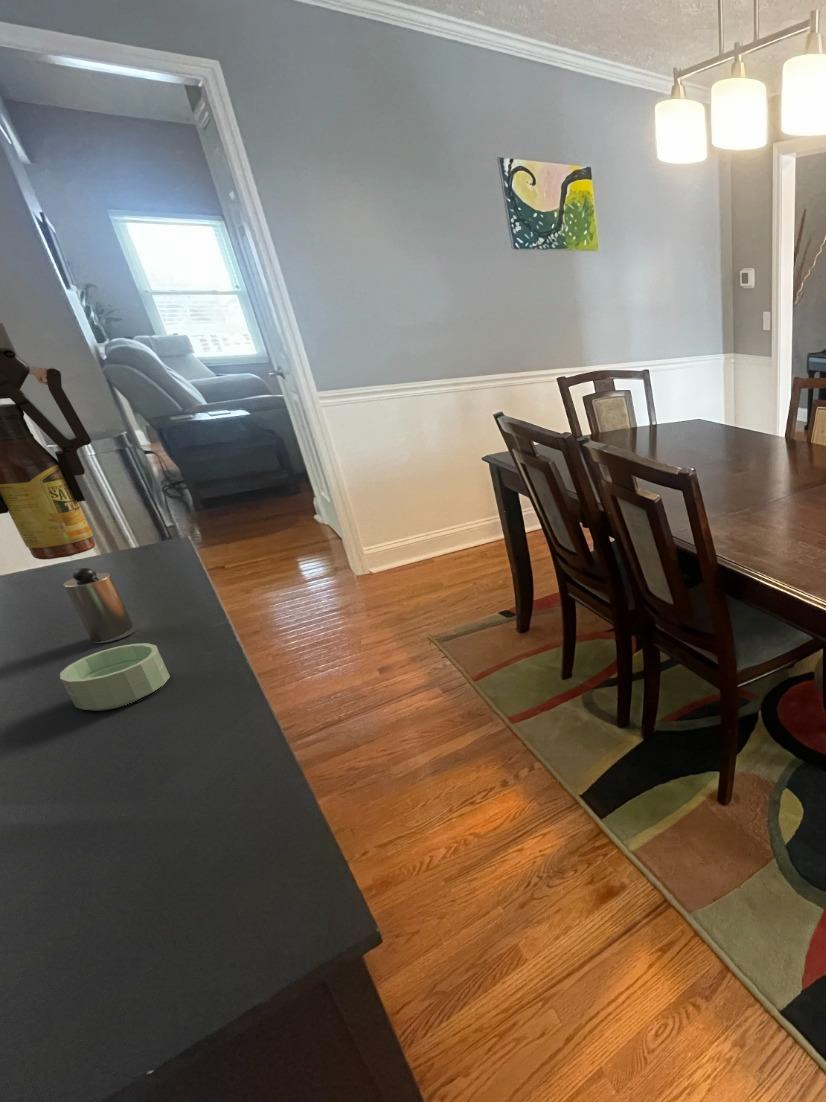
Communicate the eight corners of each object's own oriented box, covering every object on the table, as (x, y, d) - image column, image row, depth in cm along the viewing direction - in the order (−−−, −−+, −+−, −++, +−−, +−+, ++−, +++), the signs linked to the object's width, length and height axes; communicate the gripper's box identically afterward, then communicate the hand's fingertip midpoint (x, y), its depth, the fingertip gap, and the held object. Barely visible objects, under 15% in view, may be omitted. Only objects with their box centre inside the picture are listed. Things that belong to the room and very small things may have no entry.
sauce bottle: (92, 555, 81) (21, 406, 73) (25, 565, 78) (-57, 411, 70) (104, 540, 86) (39, 400, 78) (42, 550, 83) (-33, 404, 75)
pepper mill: (82, 644, 93) (47, 575, 88) (112, 628, 97) (80, 562, 93) (116, 643, 93) (82, 575, 88) (144, 627, 97) (114, 561, 93)
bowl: (56, 714, 77) (37, 682, 75) (122, 674, 85) (107, 644, 83) (130, 712, 77) (113, 680, 75) (188, 672, 85) (175, 642, 83)
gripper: (-200, 319, 61) (-77, 529, 70) (70, 317, 74) (145, 494, 84) (-183, 319, 66) (-70, 516, 75) (68, 317, 79) (139, 485, 88)
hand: (43, 504), depth 79 cm, fingers closed on sauce bottle, 6 cm apart
